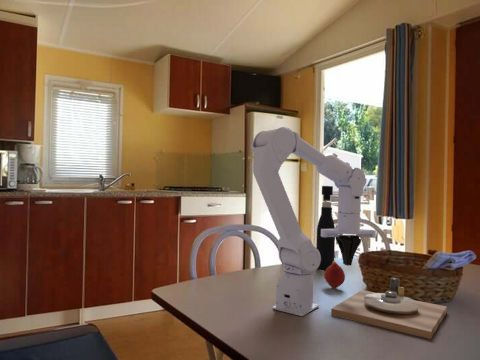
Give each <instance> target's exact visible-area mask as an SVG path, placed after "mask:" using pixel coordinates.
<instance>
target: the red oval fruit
mask: <svg viewBox="0 0 480 360" xmlns="http://www.w3.org/2000/svg"><path fill="white" fill-rule="evenodd" d="M323 276H324V280H325V282H326V283H327V284H328V286H330V287H331V288H332V289H334V290H335V289H338V288H339V287H340V286H342V285H343V284H344V282H345V280H346V275H345V271H344V269H343V268H342V267H341V266H340V265H339V264H338V263H337V262H336V261H335V260H334V261H333V262H332V265H330V266H329V267H328V268H327V269H326V271H324V274H323Z"/></svg>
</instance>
